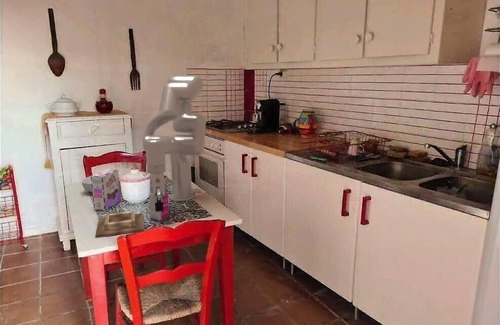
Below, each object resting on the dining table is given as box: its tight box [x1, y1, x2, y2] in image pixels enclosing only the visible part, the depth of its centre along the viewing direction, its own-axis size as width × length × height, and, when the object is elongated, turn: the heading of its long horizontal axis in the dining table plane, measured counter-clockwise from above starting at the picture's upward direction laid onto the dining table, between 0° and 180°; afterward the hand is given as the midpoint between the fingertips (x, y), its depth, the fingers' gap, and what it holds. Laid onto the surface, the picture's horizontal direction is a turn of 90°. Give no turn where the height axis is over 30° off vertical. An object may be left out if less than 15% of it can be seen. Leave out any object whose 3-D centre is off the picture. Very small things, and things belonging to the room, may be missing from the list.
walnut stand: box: [95, 210, 145, 238], centre depth 152 cm, size 18×18×4 cm
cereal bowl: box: [81, 175, 93, 193], centre depth 196 cm, size 17×17×7 cm
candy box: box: [90, 168, 122, 212], centre depth 174 cm, size 14×6×16 cm, turn 168°
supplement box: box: [148, 191, 170, 222], centre depth 159 cm, size 6×6×12 cm
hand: (158, 207), depth 158 cm, fingers open, 9 cm apart
